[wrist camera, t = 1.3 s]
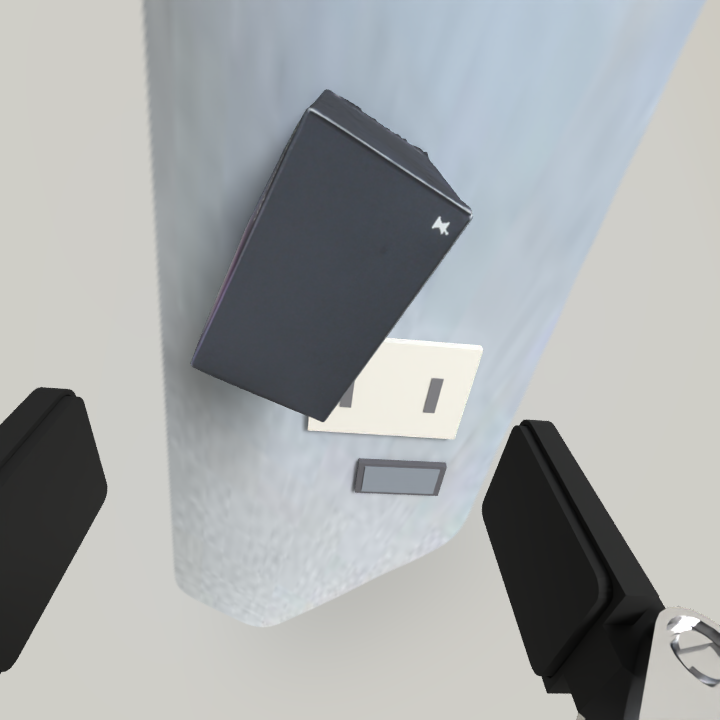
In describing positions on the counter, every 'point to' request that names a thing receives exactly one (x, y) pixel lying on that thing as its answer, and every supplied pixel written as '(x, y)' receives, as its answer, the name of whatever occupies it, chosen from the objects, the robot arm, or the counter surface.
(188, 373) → the counter surface
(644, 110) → the counter surface
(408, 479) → the phone
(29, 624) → the robot arm
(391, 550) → the counter surface
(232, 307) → the small box
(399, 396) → the outlet plate
